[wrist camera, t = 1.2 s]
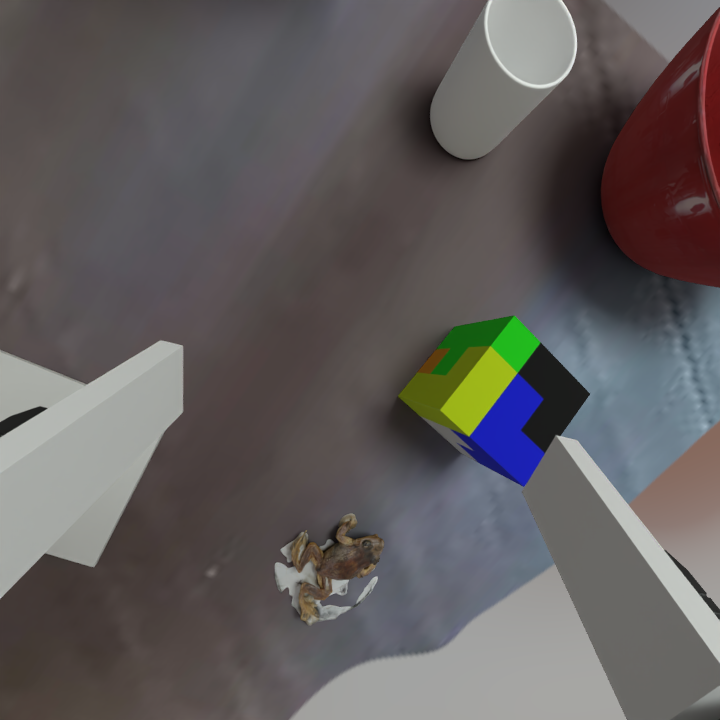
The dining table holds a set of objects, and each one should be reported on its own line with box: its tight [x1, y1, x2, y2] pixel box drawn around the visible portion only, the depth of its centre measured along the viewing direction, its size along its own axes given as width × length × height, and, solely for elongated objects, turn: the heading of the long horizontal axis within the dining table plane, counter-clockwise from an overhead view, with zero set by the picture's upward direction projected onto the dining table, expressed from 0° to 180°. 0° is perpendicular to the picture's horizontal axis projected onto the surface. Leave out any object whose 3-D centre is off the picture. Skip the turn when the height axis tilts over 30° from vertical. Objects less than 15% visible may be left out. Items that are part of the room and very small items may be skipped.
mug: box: [430, 0, 577, 159], centre depth 33 cm, size 9×12×11 cm
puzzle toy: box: [398, 316, 590, 487], centre depth 33 cm, size 10×10×10 cm
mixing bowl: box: [601, 7, 720, 287], centre depth 36 cm, size 28×28×15 cm
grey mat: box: [0, 350, 165, 567], centre depth 29 cm, size 16×14×1 cm
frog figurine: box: [275, 514, 384, 626], centre depth 33 cm, size 12×12×4 cm
